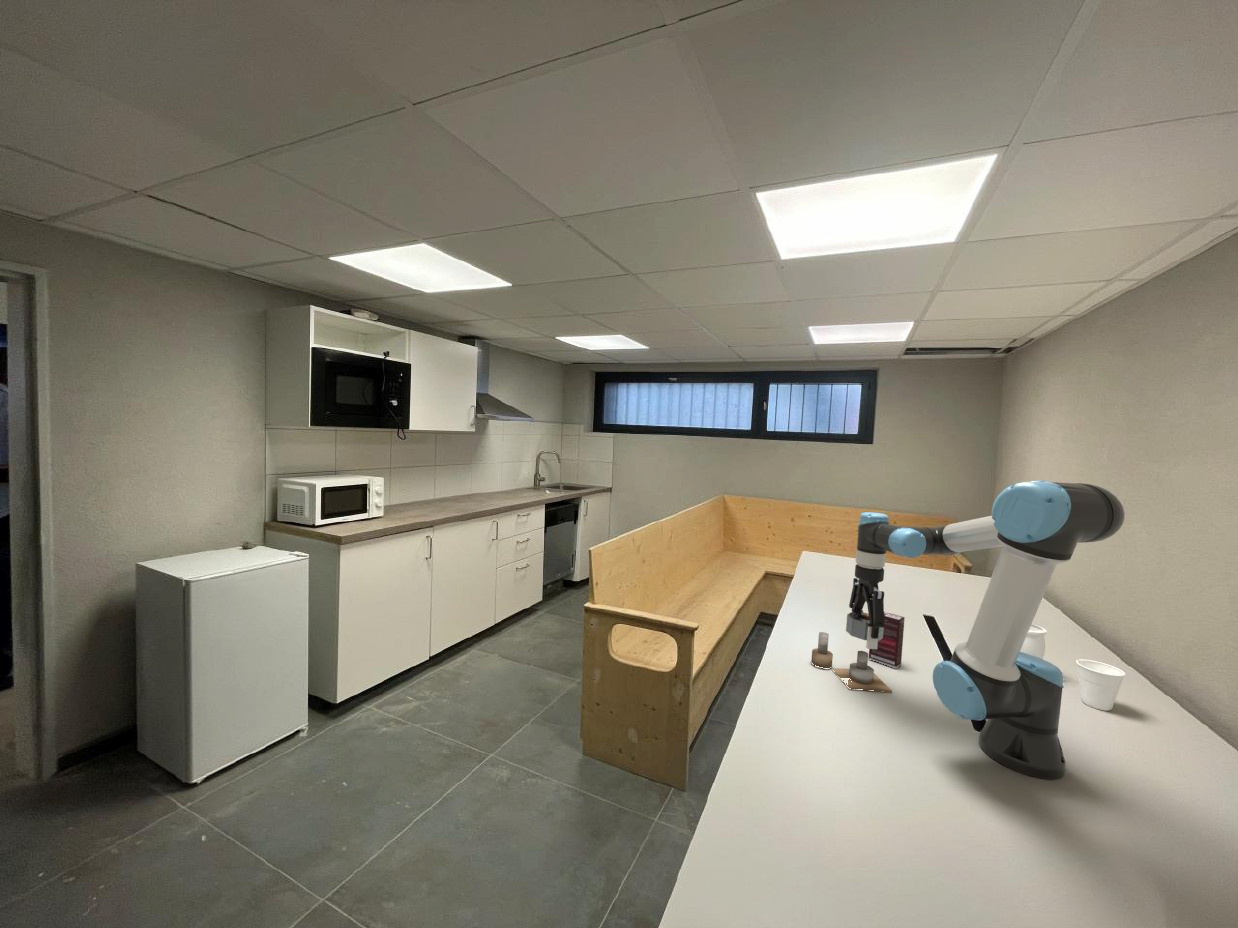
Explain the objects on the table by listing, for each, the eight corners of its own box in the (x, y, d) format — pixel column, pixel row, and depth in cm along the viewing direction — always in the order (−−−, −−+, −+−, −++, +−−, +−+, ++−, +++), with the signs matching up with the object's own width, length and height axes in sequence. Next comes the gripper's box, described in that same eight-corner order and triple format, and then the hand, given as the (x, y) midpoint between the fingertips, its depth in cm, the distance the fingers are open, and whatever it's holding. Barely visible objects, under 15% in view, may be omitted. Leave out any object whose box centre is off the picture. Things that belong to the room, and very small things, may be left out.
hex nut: (887, 641, 137) (889, 624, 137) (855, 639, 138) (857, 622, 137) (872, 629, 146) (873, 613, 146) (842, 627, 147) (843, 611, 146)
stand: (835, 670, 149) (837, 638, 148) (815, 668, 149) (817, 636, 148) (827, 661, 155) (829, 630, 154) (808, 660, 155) (810, 629, 154)
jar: (1026, 666, 159) (1030, 621, 159) (1051, 681, 149) (1055, 633, 148) (991, 662, 160) (996, 618, 160) (1014, 677, 150) (1018, 630, 149)
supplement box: (901, 665, 154) (905, 616, 154) (896, 669, 151) (900, 620, 150) (872, 655, 161) (876, 608, 160) (867, 659, 158) (871, 611, 157)
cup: (1132, 717, 130) (1136, 677, 129) (1088, 711, 132) (1093, 672, 131) (1103, 699, 139) (1107, 661, 139) (1063, 693, 141) (1067, 656, 141)
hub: (892, 692, 136) (894, 663, 136) (849, 689, 137) (851, 660, 136) (871, 672, 148) (873, 645, 148) (831, 669, 149) (833, 642, 148)
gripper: (903, 577, 130) (896, 658, 131) (865, 557, 152) (859, 627, 153) (875, 575, 130) (868, 656, 131) (840, 555, 152) (835, 626, 153)
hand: (863, 641), depth 142 cm, fingers closed on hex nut, 9 cm apart
